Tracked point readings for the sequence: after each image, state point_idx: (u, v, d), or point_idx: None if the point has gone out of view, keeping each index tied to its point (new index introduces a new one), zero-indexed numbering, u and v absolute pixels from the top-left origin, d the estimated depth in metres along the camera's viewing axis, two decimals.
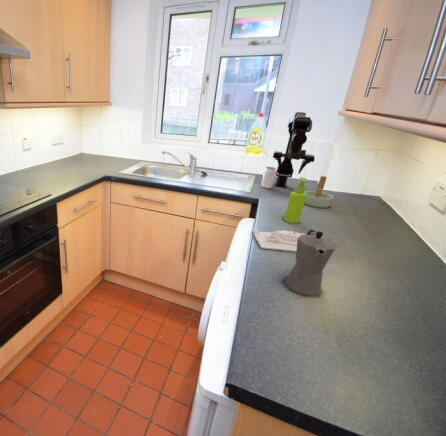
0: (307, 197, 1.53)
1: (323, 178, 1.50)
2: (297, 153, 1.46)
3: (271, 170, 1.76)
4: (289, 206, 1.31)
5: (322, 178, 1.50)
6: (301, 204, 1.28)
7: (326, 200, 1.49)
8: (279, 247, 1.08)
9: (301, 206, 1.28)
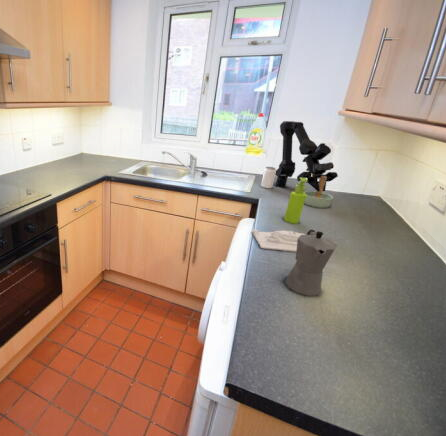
0: (307, 197, 1.53)
1: (323, 178, 1.50)
2: None
3: (271, 170, 1.76)
4: (289, 206, 1.31)
5: (322, 178, 1.50)
6: (301, 204, 1.28)
7: (326, 200, 1.49)
8: (279, 247, 1.08)
9: (301, 206, 1.28)
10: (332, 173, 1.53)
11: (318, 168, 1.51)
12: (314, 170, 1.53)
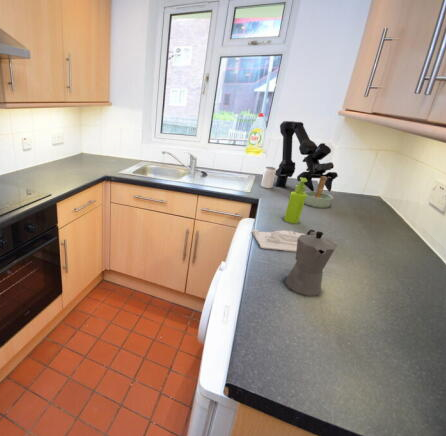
0: (307, 197, 1.53)
1: (323, 178, 1.50)
2: None
3: (271, 170, 1.76)
4: (289, 206, 1.31)
5: (322, 178, 1.50)
6: (301, 204, 1.28)
7: (326, 200, 1.49)
8: (279, 247, 1.08)
9: (301, 206, 1.28)
10: (332, 173, 1.53)
11: (318, 168, 1.51)
12: (314, 170, 1.53)
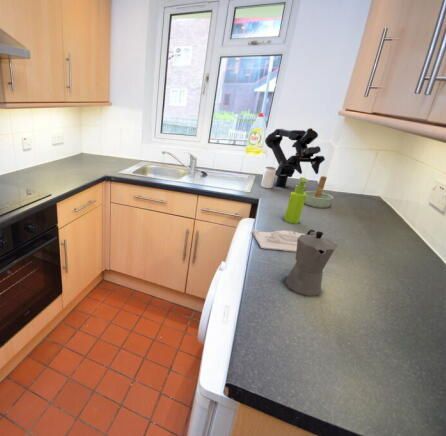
0: (307, 197, 1.53)
1: (323, 178, 1.50)
2: None
3: (271, 170, 1.76)
4: (289, 206, 1.31)
5: (322, 178, 1.50)
6: (301, 204, 1.28)
7: (326, 200, 1.49)
8: (279, 247, 1.08)
9: (301, 206, 1.28)
10: (319, 157, 1.62)
11: (306, 152, 1.60)
12: (302, 154, 1.62)
